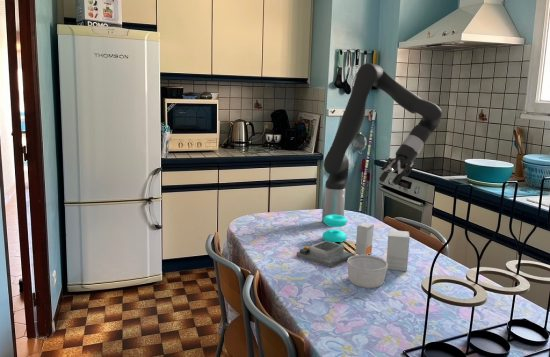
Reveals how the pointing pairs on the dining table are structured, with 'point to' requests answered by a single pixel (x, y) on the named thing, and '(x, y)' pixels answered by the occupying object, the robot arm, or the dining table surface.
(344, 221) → the donuts
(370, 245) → the skincare box
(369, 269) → the ramekin
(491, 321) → the dining table surface
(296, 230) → the dining table surface
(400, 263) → the supplement box
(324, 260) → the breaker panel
